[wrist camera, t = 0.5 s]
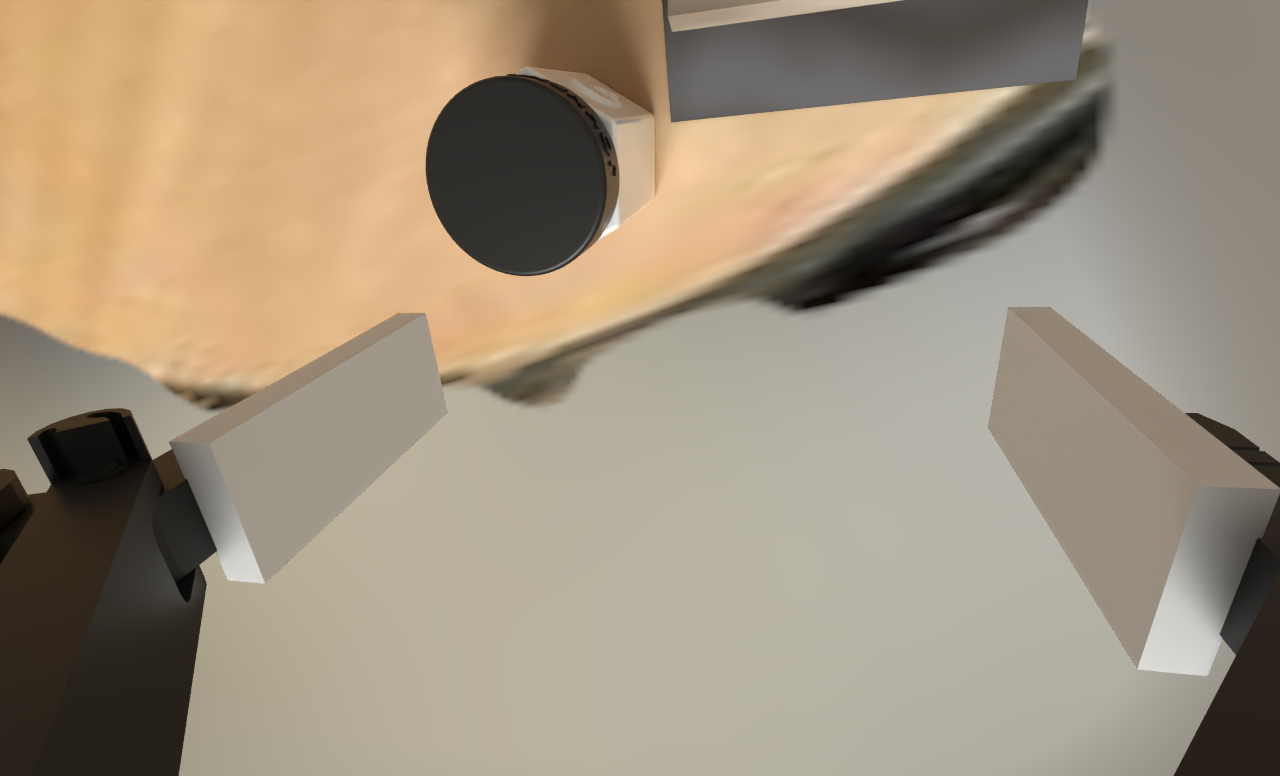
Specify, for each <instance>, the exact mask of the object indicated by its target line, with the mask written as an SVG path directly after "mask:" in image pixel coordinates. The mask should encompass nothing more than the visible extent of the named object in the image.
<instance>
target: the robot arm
mask: <svg viewBox="0 0 1280 776" xmlns="http://www.w3.org/2000/svg"><path fill="white" fill-rule="evenodd" d="M446 414H447V408H446V403H445V399H444V394H443V390H442V385H441V380H440V376H439V371H438V367H437V362H436V358H435V353H434V348H433V344H432V339H431V335H430V330H429V326H428V321H427V316H426V313H398V314H396V315H394V316H393V317H391V318H389V319H387V320H385V321H384V322H382V323H380V324H378V325H377V326H375V327H373V328H371V329H369V330H368V331H366V332H364V333H362V334H360V335H359V336H357V337H355V338H353V339H352V340H350V341H348V342H346V343H344V344H343V345H341V346H339V347H337V348H335V349H334V350H332V351H330V352H328V353H327V354H325V355H323V356H321V357H319V358H318V359H316V360H314V361H312V362H310V363H309V364H307V365H305V366H303V367H302V368H300V369H298V370H296V371H294V372H293V373H291V374H289V375H287V376H285V377H284V378H282V379H280V380H278V381H277V382H275V383H273V384H271V385H269V386H268V387H266V388H264V389H262V390H260V391H259V392H257V393H255V394H253V395H252V396H250V397H248V398H246V399H244V400H243V401H241V402H239V403H237V404H235V405H234V406H232V407H230V408H228V409H227V410H225V411H223V412H221V413H219V414H218V415H216V416H214V417H212V418H211V419H209V420H207V421H205V422H203V423H202V424H200V425H198V426H197V427H194V428H193V429H191V430H189V431H187V432H186V433H184V434H182V435H180V436H178V437H177V438H175V439H173V440H171V441H170V442H169V443H170V445H171V447H172V449H171V450H170V451H168V452H166V453H164V454H163V455H161V456H159V457H158V458H156V459H154V460H152V458H151V456H150V454H149V451H148V449H147V447H146V444H145V442H144V440H143V438H142V435H141V433H140V431H139V429H138V426H137V424H136V422H135V419H134V417H133V415H132V413H131V411H130V410H126V409H122V408H121V409H120V408H118V409H104V410H98V411H92V412H88V413H84V414H80V415H77V416H73V417H69V418H67V419H64V420H61V421H58V422H56V423H53V424H50V425H48V426H46V427H44V428H42V429H40V430H38V431H36V432H35V433H34V434H32V435H31V436H30V437H29V438H28V441H29V443H30V445H31V447H32V449H33V451H34V453H35V454H36V456H37V458H38V460H39V462H40V464H41V466H42V468H43V469H44V471H45V473H46V475H47V477H48V479H49V481H50V483H51V486H50V488H49V489H48V491H47V492H46V493H38V494H31V495H27V493H26V491H25V489H24V488H23V486H22V484H21V482H20V480H19V478H18V477H17V475H16V473H15V471H13V470H7V469H0V776H178V775H179V769H180V762H181V755H182V749H183V741H184V735H185V728H186V721H187V714H188V707H189V701H190V694H191V687H192V680H193V674H194V667H195V660H196V653H197V646H198V640H199V633H200V626H201V619H202V612H203V605H204V599H205V591H206V585H207V584H206V581H205V577H204V575H203V573H202V570H201V568H200V566H199V565H200V564H201V563H202V562H203V561H205V560H206V559H207V558H208V557H210V556H211V555H212V554H214V553H215V552H216V553H217V555H218V558H219V560H220V562H221V564H222V567H223V570H224V572H225V574H226V577H227V578H228V580H233V581H244V582H254V583H264V584H265V583H266V582H267V581H268V580H269V579H271V578H272V577H273V576H274V575H275V574H276V573H277V572H278V571H279V570H280V569H281V568H282V567H283V566H284V565H286V564H287V563H288V562H289V561H290V560H291V559H292V558H293V557H294V556H295V555H296V554H297V553H298V552H299V551H300V550H301V549H302V548H304V547H305V546H306V545H307V544H308V543H309V542H310V541H311V540H312V539H313V538H314V537H315V536H316V535H317V534H319V533H320V532H321V531H322V530H323V529H324V528H325V527H326V526H327V525H328V524H329V523H330V522H331V521H332V520H333V519H335V517H337V516H338V515H339V514H340V513H341V512H342V511H343V510H344V509H345V508H346V507H347V506H348V505H350V504H351V502H353V501H354V500H355V499H356V498H357V497H358V496H359V495H360V494H361V493H362V492H363V491H364V490H365V489H366V488H367V487H369V486H370V485H371V484H372V483H373V482H374V481H375V480H376V479H377V478H378V477H379V476H380V475H382V473H384V472H385V471H386V470H387V469H388V468H389V467H390V466H391V465H392V464H393V463H394V462H395V461H396V460H398V459H399V458H400V457H401V456H402V455H403V454H404V453H405V452H406V451H407V450H408V449H409V448H410V447H411V446H412V445H414V443H416V442H417V441H418V440H419V439H420V438H421V437H422V436H423V435H424V434H425V433H426V432H427V431H428V430H429V429H431V428H432V427H433V426H434V425H435V424H436V423H437V422H438V421H439V420H440V419H441V418H442V417H443V416H444V415H446ZM988 428H989V430H990V432H991V433H992V435H993V437H994V438H995V440H996V441H997V443H998V445H999V446H1000V448H1001V450H1002V451H1003V453H1004V454H1005V456H1006V458H1007V459H1008V461H1009V462H1010V464H1011V466H1012V467H1013V469H1014V471H1015V472H1016V474H1017V475H1018V477H1019V478H1020V480H1021V482H1022V483H1023V485H1024V487H1025V488H1026V490H1027V491H1028V493H1029V495H1030V496H1031V498H1032V500H1033V501H1034V503H1035V505H1036V506H1037V508H1038V509H1039V511H1040V513H1041V514H1042V516H1043V518H1044V519H1045V521H1046V522H1047V524H1048V526H1049V527H1050V529H1051V530H1052V532H1053V534H1054V535H1055V537H1056V539H1057V540H1058V542H1059V543H1060V545H1061V547H1062V548H1063V550H1064V551H1065V553H1066V555H1067V556H1068V558H1069V559H1070V561H1071V563H1072V564H1073V566H1074V568H1075V569H1076V571H1077V573H1078V574H1079V576H1080V577H1081V579H1082V581H1083V582H1084V584H1085V585H1086V587H1087V589H1088V590H1089V592H1090V594H1091V595H1092V597H1093V598H1094V600H1095V602H1096V603H1097V605H1098V606H1099V608H1100V610H1101V611H1102V613H1103V615H1104V616H1105V618H1106V619H1107V621H1108V623H1109V624H1110V626H1111V627H1112V629H1113V631H1114V632H1115V634H1116V636H1117V637H1118V639H1119V641H1120V642H1121V644H1122V645H1123V647H1124V649H1125V650H1126V652H1127V654H1128V655H1129V657H1130V658H1131V660H1132V661H1133V663H1134V665H1135V666H1136V668H1137V669H1140V670H1150V671H1161V672H1170V673H1181V674H1191V675H1201V676H1208V673H1209V671H1210V668H1211V666H1212V663H1213V661H1214V658H1215V655H1216V653H1217V651H1218V648H1219V645H1220V643H1221V640H1222V638H1223V640H1224V641H1225V642H1226V643H1227V644H1228V646H1229V647H1230V648H1231V649H1232V651H1233V652H1234V653H1235V654H1236V657H1235V659H1234V661H1233V663H1232V665H1231V667H1230V669H1229V670H1228V672H1227V674H1226V676H1225V678H1224V680H1223V682H1222V684H1221V686H1220V688H1219V690H1218V692H1217V694H1216V696H1215V697H1214V699H1213V701H1212V703H1211V705H1210V707H1209V709H1208V711H1207V713H1206V715H1205V716H1204V719H1203V720H1202V722H1201V724H1200V726H1199V728H1198V730H1197V732H1196V734H1195V736H1194V738H1193V740H1192V741H1191V743H1190V745H1189V747H1188V749H1187V751H1186V753H1185V755H1184V757H1183V759H1182V761H1181V763H1180V765H1179V767H1178V768H1177V770H1176V772H1175V774H1174V776H1280V462H1278V461H1277V460H1275V459H1274V458H1273V457H1271V456H1270V455H1269V454H1267V453H1266V452H1265V451H1259V447H1258V446H1256V445H1255V444H1254V443H1252V442H1251V441H1250V440H1248V439H1247V438H1246V437H1244V436H1243V435H1242V434H1240V433H1239V432H1237V431H1236V430H1235V429H1233V428H1230V427H1228V426H1226V425H1223V424H1221V423H1219V422H1217V421H1214V420H1212V419H1210V418H1207V417H1205V416H1203V415H1200V414H1198V413H1184V412H1182V411H1181V410H1180V409H1179V408H1177V407H1176V406H1175V405H1174V404H1172V403H1171V402H1170V401H1169V400H1167V399H1166V398H1165V397H1164V396H1162V395H1161V394H1159V393H1158V392H1157V391H1156V390H1155V389H1153V388H1152V387H1151V386H1150V385H1148V384H1147V383H1146V382H1144V381H1143V380H1142V379H1141V378H1139V377H1138V376H1137V375H1136V374H1134V373H1133V372H1132V371H1130V370H1129V369H1128V368H1127V367H1125V366H1124V365H1123V364H1122V363H1120V362H1119V361H1118V360H1117V359H1115V358H1114V357H1113V356H1112V355H1110V354H1109V353H1108V352H1106V351H1105V350H1104V349H1103V348H1101V347H1100V346H1099V345H1097V344H1096V343H1095V342H1094V341H1092V340H1091V339H1090V338H1089V337H1087V336H1086V335H1085V334H1084V333H1082V332H1081V331H1080V330H1079V329H1077V328H1076V327H1075V326H1073V325H1072V324H1071V323H1070V322H1068V321H1067V320H1066V319H1064V318H1063V317H1062V316H1061V315H1059V314H1058V313H1057V312H1056V311H1054V310H1053V309H1052V308H1051V307H1017V308H1016V307H1014V308H1013V307H1009V308H1008V311H1007V317H1006V323H1005V329H1004V336H1003V341H1002V347H1001V353H1000V359H999V365H998V371H997V376H996V382H995V389H994V395H993V400H992V406H991V413H990V418H989V424H988Z"/></svg>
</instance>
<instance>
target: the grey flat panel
mask: <svg viewBox="0 0 1280 776" xmlns="http://www.w3.org/2000/svg"><path fill="white" fill-rule="evenodd" d="M662 3H663V17H664V30H665V44H666V57H667V70H668V84H669V97H670V111H671V122H678V121H687V120H697V119H706V118H716V117H725V116H735V115H744V114H754V113H763V112H773V111H783V110H792V109H802V108H811V107H821V106H830V105H840V104H849V103H859V102H868V101H878V100H887V99H897V98H906V97H916V96H925V95H935V94H944V93H954V92H963V91H973V90H982V89H992V88H1001V87H1011V86H1020V85H1030V84H1039V83H1049V82H1059V81H1068V80H1076V75H1077V69H1078V63H1079V56H1080V50H1081V44H1082V37H1083V31H1084V25H1085V18H1086V12H1087V6H1088V0H901V1H894V2H887V3H879V4H872V5H865V6H858V7H850V8H843V9H836V10H828V11H821V12H814V13H807V14H799V15H792V16H785V17H778V18H770V19H763V20H756V21H749V22H741V23H734V24H727V25H720V26H712V27H705V28H698V29H691V30H683V31H676V32H672V30H671V26H670V23H669V19H668V0H662Z"/></svg>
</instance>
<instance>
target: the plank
mask: <svg viewBox="0 0 1280 776" xmlns="http://www.w3.org/2000/svg"><path fill="white" fill-rule="evenodd" d="M894 1H901V0H668V19H669V23H670V26H671V30H672V32H676V31H683V30H691V29H698V28H705V27H712V26H720V25H727V24H734V23H741V22H749V21H756V20H763V19H770V18H778V17H785V16H792V15H799V14H807V13H814V12H821V11H828V10H836V9H843V8H850V7H858V6H865V5H872V4H879V3H887V2H894Z"/></svg>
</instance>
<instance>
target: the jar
mask: <svg viewBox="0 0 1280 776" xmlns="http://www.w3.org/2000/svg"><path fill="white" fill-rule="evenodd" d="M426 179H427V185H428V190H429V194H430V198H431V201H432V204H433V207H434V209H435V211H436V214H437V216H438V218H439V220H440V221H441V223H442V225H443V227H444V228H445V230H446V231H447V233H448V234H449V235H450V236H451V238H452V239H453V240H454V241H455V242H456V244H457V245H458V246H459V247H460V248H461V249H462V250H463V251H465V252H466V253H467V254H468V255H469V256H471V257H472V258H473V259H475V260H476V261H478V262H479V263H481V264H483V265H485V266H487V267H489V268H491V269H493V270H496V271H499V272H502V273H505V274H510V275H517V276H535V275H542V274H546V273H550V272H553V271H555V270H558V269H560V268H562V267H564V266H566V265H567V264H569V263H570V262H572V261H573V260H574V259H576V258H577V257H578V256H580V255H581V254H582V253H584V252H585V251H586V250H587V249H589V248H590V247H591V246H592V245H593V244H594V243H595V242H596V241H598V240H599V239H601V238H603V237H604V236H606V235H608V234H609V233H611V232H613V231H614V230H616V229H618V228H619V227H620V226H621V225H623V224H624V223H625V222H626V221H628V220H629V219H630V218H632V217H633V216H634V215H635V214H637V213H638V212H639V211H640V210H642V209H643V208H644V207H645V206H647V205H648V204H649V203H651V202H652V201H653V200H654V199H655V121H654V116H653V114H651V113H650V112H648V111H647V110H645V109H643V108H642V107H640V106H638V105H637V104H635V103H634V102H632V101H630V100H629V99H627V98H625V97H624V96H622V95H621V94H619V93H617V92H616V91H614V90H612V89H611V88H609V87H607V86H606V85H604V84H603V83H601V82H599V81H598V80H596V79H594V78H593V77H591V76H590V75H588V74H586V73H578V72H570V71H561V70H553V69H545V68H537V67H529V66H525V67H523V68H522V69H520V70H519V71H518V72H517V73H515V74H508V75H506V76H495V77H491V78H487V79H483V80H480V81H478V82H475V83H473V84H471V85H469V86H468V87H466V88H464V89H463V90H461V91H460V92H459V93H457V94H456V95H455V96H454V97H453V98H452V99H451V100H450V101H449V102H448V103H447V104H446V106H445V107H444V108H443V110H442V111H441V113H440V114H439V116H438V118H437V120H436V121H435V123H434V126H433V128H432V131H431V134H430V137H429V141H428V146H427V152H426Z"/></svg>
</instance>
